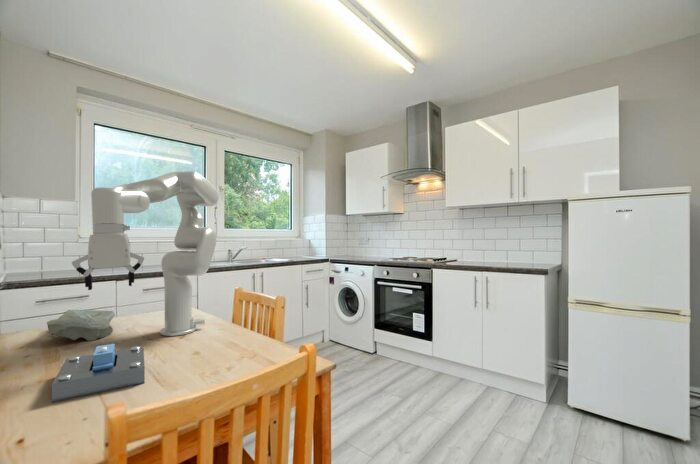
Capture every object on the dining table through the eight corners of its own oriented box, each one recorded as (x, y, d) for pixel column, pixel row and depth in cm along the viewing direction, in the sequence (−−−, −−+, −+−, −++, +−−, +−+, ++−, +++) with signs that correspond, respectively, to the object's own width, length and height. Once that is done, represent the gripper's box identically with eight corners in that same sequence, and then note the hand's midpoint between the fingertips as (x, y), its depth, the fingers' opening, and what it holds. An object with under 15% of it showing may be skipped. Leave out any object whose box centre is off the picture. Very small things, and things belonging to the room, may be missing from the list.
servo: (115, 368, 94) (115, 338, 94) (112, 383, 84) (112, 350, 84) (97, 371, 91) (97, 341, 91) (92, 387, 82) (92, 353, 82)
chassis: (143, 360, 100) (143, 344, 100) (144, 383, 85) (144, 364, 85) (66, 374, 91) (66, 356, 91) (51, 402, 75) (51, 381, 75)
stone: (112, 326, 120) (39, 326, 109) (108, 348, 119) (34, 350, 109) (119, 306, 144) (60, 305, 133) (116, 325, 143) (56, 325, 133)
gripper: (142, 228, 105) (144, 282, 106) (72, 230, 95) (74, 288, 96) (143, 229, 99) (145, 285, 100) (68, 230, 89) (71, 293, 90)
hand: (110, 287), depth 98 cm, fingers open, 9 cm apart
